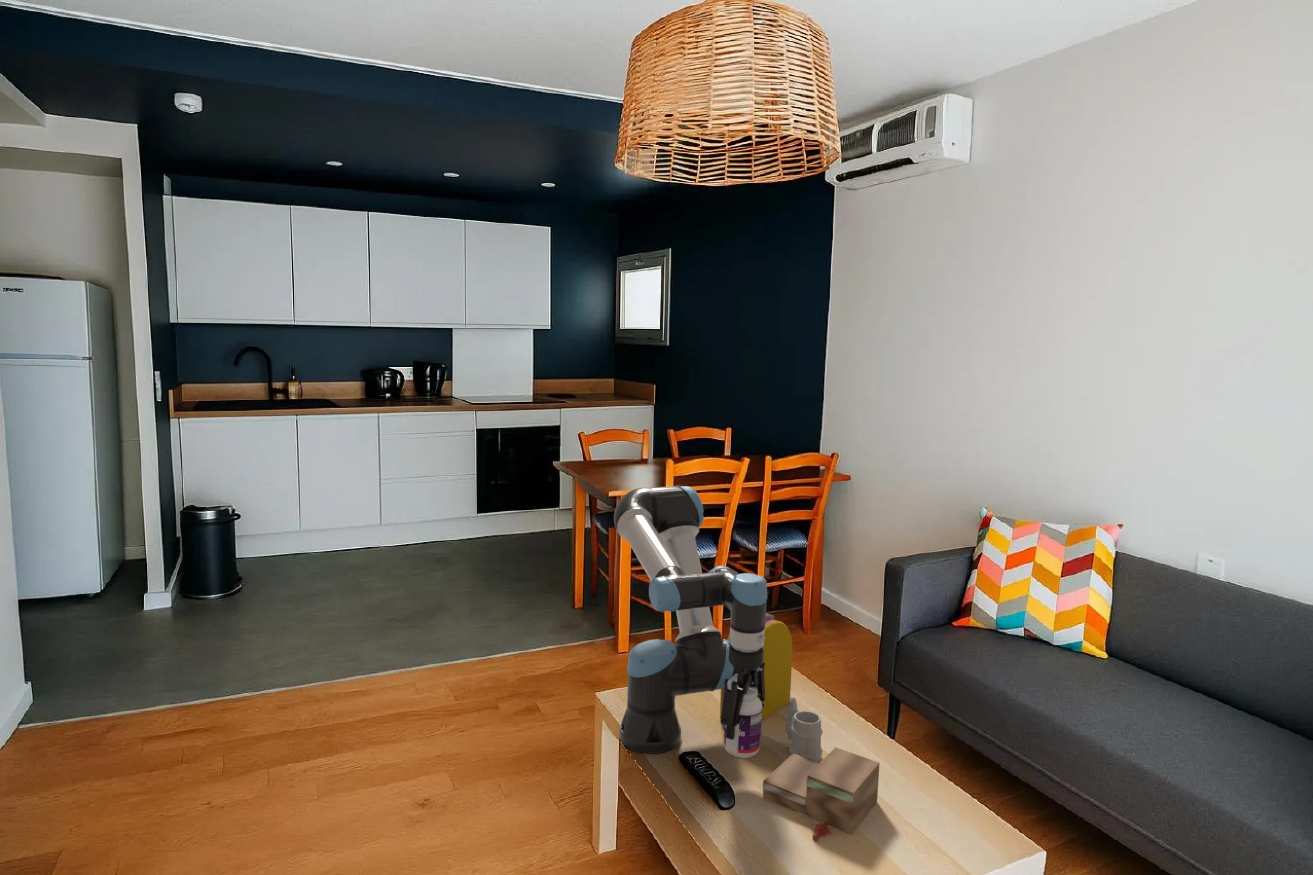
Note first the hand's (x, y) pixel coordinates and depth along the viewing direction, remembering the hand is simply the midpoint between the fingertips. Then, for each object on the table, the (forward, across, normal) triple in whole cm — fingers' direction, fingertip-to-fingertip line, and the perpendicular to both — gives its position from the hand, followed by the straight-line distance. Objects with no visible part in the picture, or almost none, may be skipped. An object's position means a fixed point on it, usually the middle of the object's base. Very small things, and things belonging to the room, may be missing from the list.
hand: (741, 742), depth 174 cm
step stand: (+8, +1, -18) cm, 20 cm away
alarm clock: (+10, +31, +13) cm, 35 cm away
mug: (+9, +19, -6) cm, 21 cm away
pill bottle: (+2, 0, 0) cm, 2 cm away
